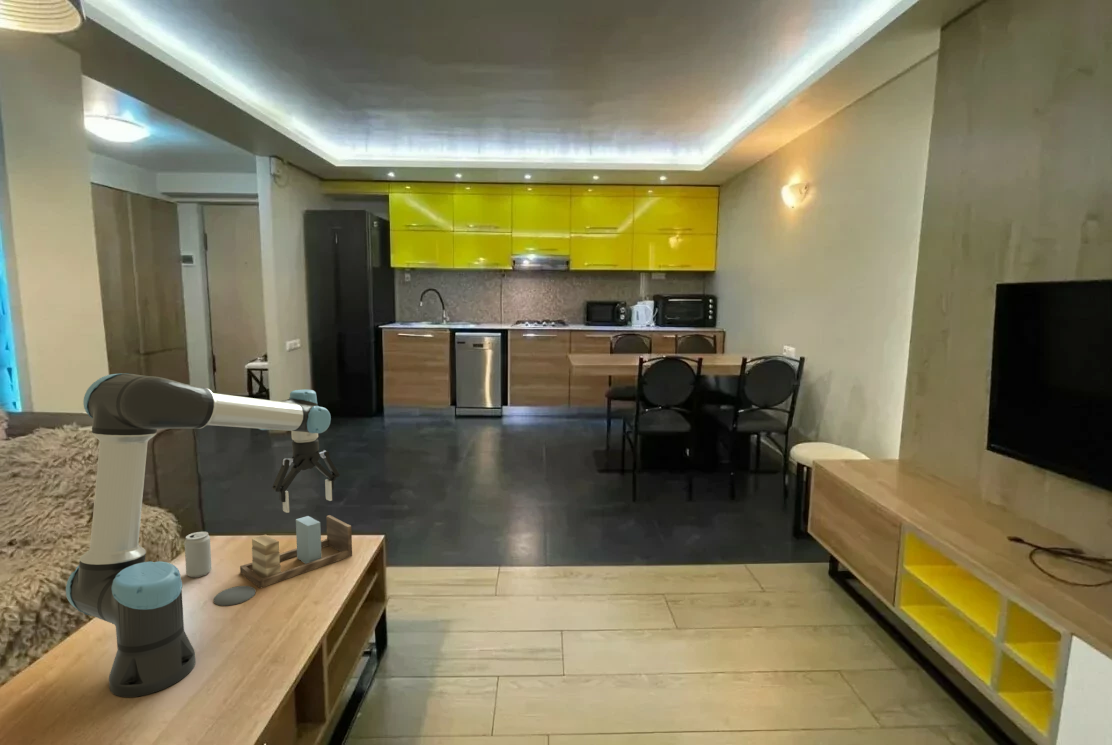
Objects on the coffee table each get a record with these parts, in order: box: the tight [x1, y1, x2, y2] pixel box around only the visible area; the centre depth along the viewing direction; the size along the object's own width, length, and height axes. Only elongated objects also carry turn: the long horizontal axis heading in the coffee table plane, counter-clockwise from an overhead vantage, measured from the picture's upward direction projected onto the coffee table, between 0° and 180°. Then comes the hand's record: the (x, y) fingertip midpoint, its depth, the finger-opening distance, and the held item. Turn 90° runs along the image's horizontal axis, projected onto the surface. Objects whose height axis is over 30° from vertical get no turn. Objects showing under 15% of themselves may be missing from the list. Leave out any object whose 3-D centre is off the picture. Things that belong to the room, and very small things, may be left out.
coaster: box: [213, 585, 256, 607], centre depth 152 cm, size 10×10×1 cm
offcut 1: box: [251, 534, 280, 556], centre depth 163 cm, size 4×8×3 cm, turn 53°
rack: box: [239, 514, 353, 589], centre depth 171 cm, size 28×14×10 cm, turn 140°
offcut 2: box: [251, 547, 281, 569], centre depth 164 cm, size 4×9×4 cm, turn 51°
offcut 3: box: [251, 559, 282, 579], centre depth 164 cm, size 4×10×4 cm, turn 50°
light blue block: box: [295, 515, 323, 564], centre depth 173 cm, size 4×8×13 cm, turn 50°
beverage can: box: [183, 531, 212, 578], centre depth 164 cm, size 6×6×12 cm
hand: (308, 505), depth 172 cm, fingers open, 13 cm apart
